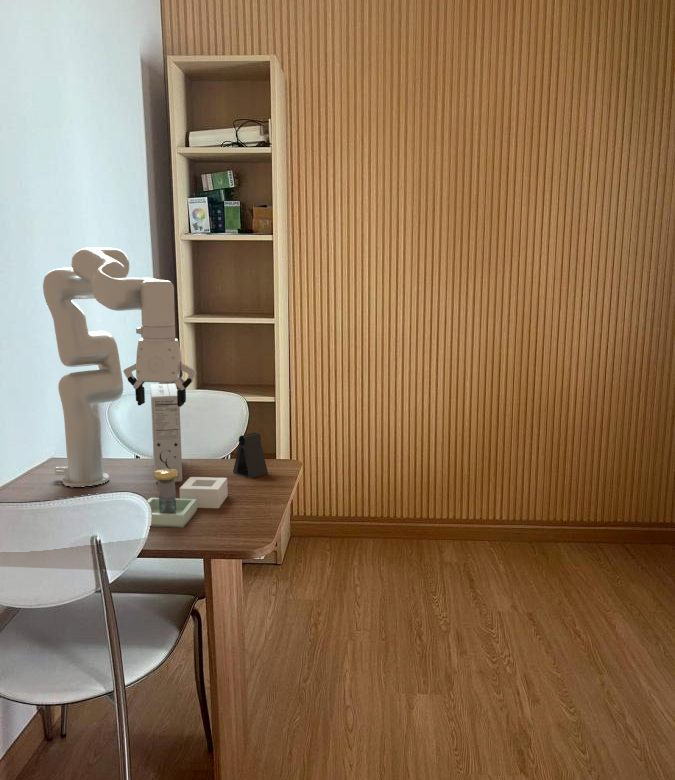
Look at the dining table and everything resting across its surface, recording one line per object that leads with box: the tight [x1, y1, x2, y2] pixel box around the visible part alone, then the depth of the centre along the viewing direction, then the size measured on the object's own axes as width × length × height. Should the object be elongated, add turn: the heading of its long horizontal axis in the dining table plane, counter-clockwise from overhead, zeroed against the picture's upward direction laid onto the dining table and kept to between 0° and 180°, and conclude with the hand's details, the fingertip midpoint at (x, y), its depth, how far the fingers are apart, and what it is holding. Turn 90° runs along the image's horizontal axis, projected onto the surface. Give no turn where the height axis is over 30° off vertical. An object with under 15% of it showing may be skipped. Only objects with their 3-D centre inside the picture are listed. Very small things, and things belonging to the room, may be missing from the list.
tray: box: [146, 497, 198, 528], centre depth 177 cm, size 12×12×3 cm
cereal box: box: [149, 382, 183, 484], centre depth 214 cm, size 22×8×25 cm, turn 15°
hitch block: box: [179, 476, 229, 509], centre depth 189 cm, size 10×10×5 cm
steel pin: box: [153, 469, 178, 514], centre depth 176 cm, size 6×6×11 cm
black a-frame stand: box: [232, 432, 269, 479], centre depth 213 cm, size 9×6×12 cm, turn 47°
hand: (161, 404), depth 173 cm, fingers open, 9 cm apart
